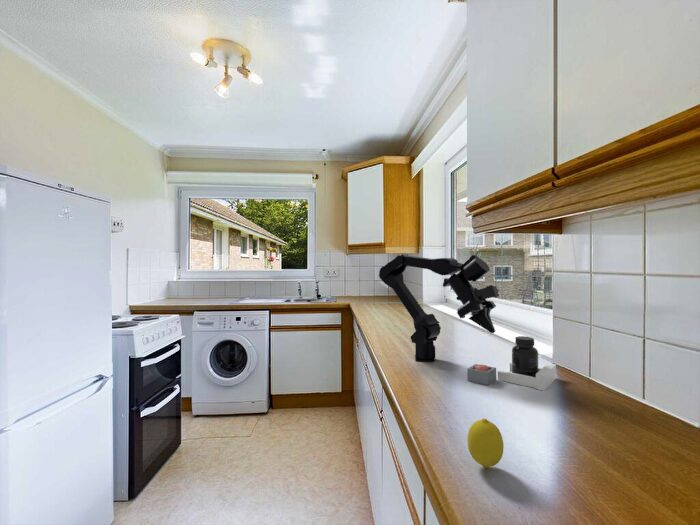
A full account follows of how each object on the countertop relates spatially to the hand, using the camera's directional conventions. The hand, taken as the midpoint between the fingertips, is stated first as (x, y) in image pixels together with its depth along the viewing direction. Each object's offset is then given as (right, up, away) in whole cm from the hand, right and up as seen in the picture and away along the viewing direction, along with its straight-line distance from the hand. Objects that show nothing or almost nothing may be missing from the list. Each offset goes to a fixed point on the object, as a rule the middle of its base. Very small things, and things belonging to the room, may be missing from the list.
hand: (493, 332), depth 103 cm
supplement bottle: (+7, -13, -5) cm, 15 cm away
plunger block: (-6, -13, -5) cm, 15 cm away
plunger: (-6, -12, -5) cm, 14 cm away
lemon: (-21, -13, -47) cm, 53 cm away
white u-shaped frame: (+7, -13, -5) cm, 15 cm away
